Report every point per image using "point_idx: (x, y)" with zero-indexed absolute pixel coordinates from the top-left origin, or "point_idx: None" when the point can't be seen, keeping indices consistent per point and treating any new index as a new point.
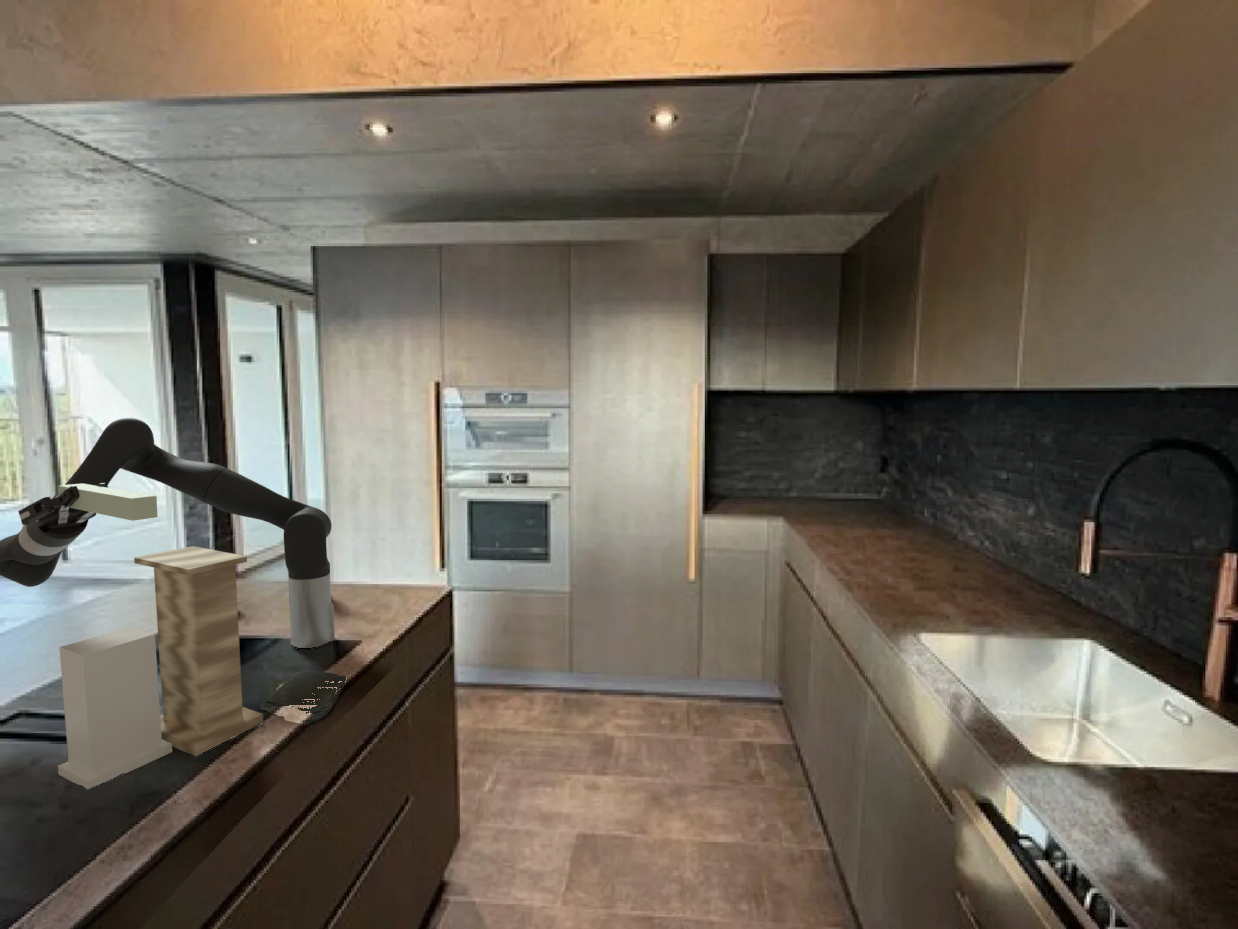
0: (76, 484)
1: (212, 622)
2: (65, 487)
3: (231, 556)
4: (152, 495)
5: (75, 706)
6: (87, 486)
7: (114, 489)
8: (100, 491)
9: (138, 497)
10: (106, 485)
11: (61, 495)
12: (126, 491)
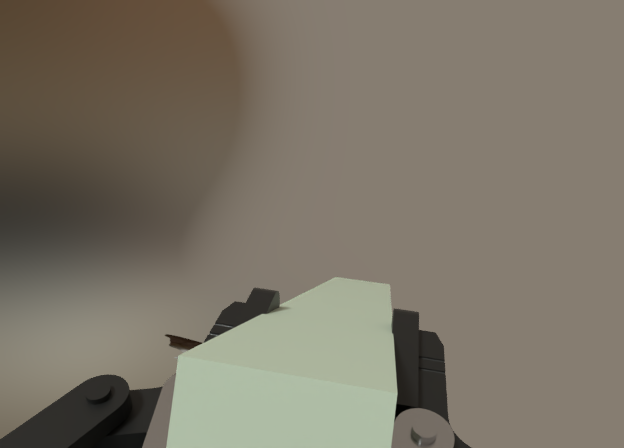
0: (260, 356)
1: None
2: (393, 360)
3: None
4: (337, 278)
5: None
6: (304, 323)
7: (313, 294)
8: (371, 300)
9: (372, 282)
10: (239, 303)
11: (444, 394)
12: (325, 287)
